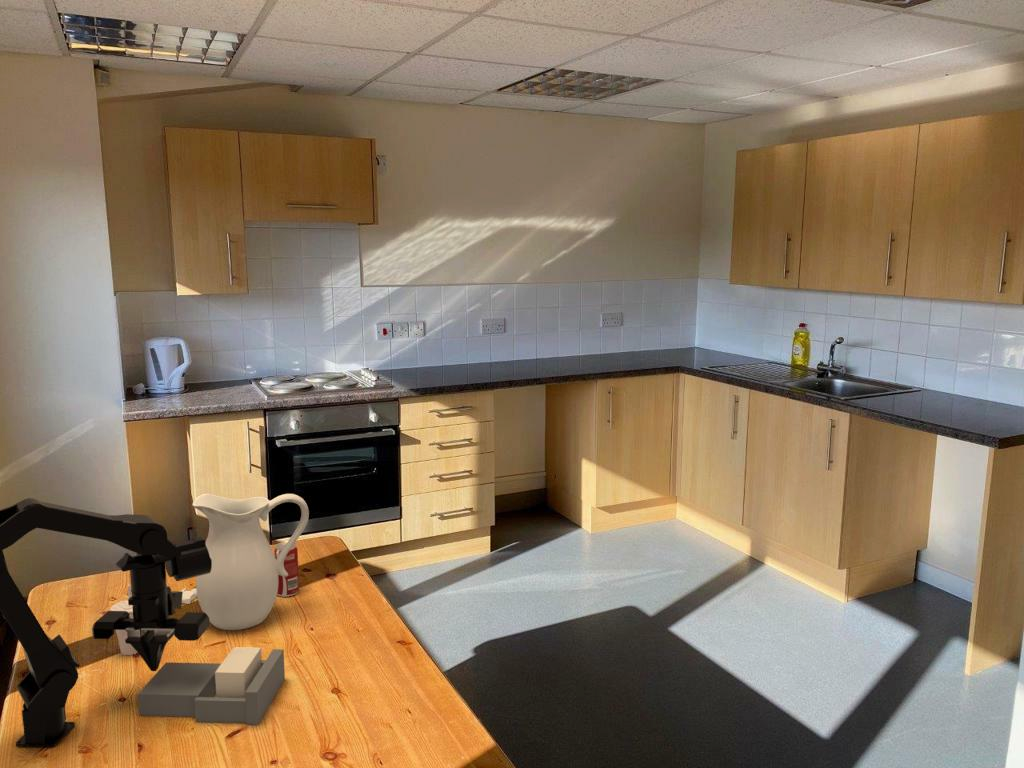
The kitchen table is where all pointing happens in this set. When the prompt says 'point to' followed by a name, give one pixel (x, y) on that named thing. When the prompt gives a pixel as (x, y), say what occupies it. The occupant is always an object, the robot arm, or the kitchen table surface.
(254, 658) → the carton
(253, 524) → the pitcher
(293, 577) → the soda can
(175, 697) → the stand
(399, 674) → the kitchen table surface
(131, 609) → the smoothie
